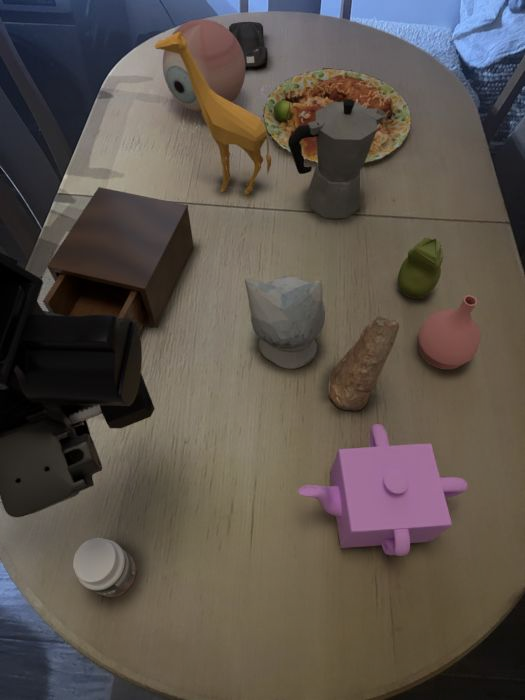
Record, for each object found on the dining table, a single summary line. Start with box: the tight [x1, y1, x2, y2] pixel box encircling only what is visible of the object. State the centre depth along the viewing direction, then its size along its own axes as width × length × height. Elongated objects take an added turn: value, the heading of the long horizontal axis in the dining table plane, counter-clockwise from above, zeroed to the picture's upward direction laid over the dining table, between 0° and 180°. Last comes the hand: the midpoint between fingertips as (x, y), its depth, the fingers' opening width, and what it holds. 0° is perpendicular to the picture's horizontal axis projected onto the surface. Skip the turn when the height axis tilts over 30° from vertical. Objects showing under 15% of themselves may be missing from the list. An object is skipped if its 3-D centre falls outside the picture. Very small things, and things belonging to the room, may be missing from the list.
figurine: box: [244, 275, 326, 370], centre depth 65 cm, size 10×9×15 cm
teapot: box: [297, 423, 469, 557], centre depth 56 cm, size 18×14×10 cm
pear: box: [397, 237, 444, 299], centre depth 73 cm, size 6×5×10 cm
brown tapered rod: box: [327, 315, 400, 412], centre depth 60 cm, size 6×18×6 cm
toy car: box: [228, 21, 269, 72], centre depth 109 cm, size 7×15×4 cm, turn 5°
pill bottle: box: [72, 537, 136, 598], centre depth 52 cm, size 5×5×8 cm
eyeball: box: [162, 18, 246, 114], centre depth 94 cm, size 15×15×15 cm
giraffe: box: [154, 29, 272, 195], centre depth 78 cm, size 16×4×25 cm, turn 79°
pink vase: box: [417, 295, 482, 370], centre depth 66 cm, size 8×8×12 cm
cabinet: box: [46, 186, 195, 328], centre depth 74 cm, size 16×14×9 cm
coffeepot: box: [288, 99, 387, 220], centre depth 79 cm, size 15×9×18 cm, turn 110°
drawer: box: [42, 273, 148, 333], centre depth 69 cm, size 20×13×7 cm, turn 164°
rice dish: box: [262, 67, 412, 165], centre depth 96 cm, size 28×28×5 cm
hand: (66, 456), depth 49 cm, fingers closed
